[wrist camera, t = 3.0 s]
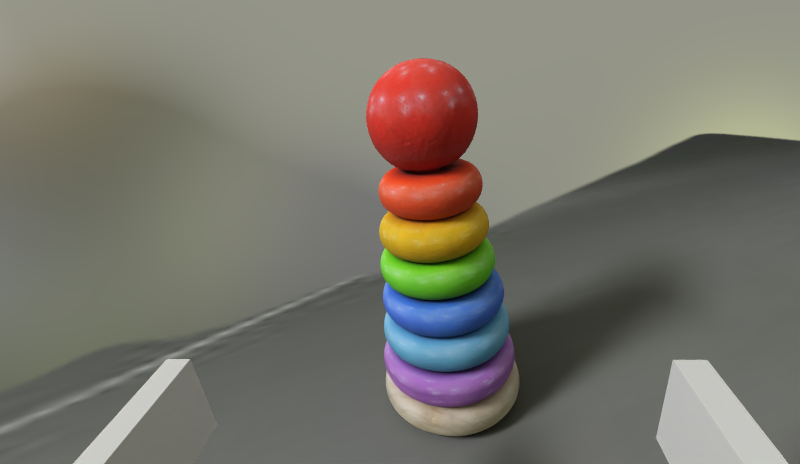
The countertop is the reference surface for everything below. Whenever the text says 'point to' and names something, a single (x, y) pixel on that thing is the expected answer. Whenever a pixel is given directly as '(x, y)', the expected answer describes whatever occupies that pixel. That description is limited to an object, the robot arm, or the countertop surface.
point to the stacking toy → (438, 257)
